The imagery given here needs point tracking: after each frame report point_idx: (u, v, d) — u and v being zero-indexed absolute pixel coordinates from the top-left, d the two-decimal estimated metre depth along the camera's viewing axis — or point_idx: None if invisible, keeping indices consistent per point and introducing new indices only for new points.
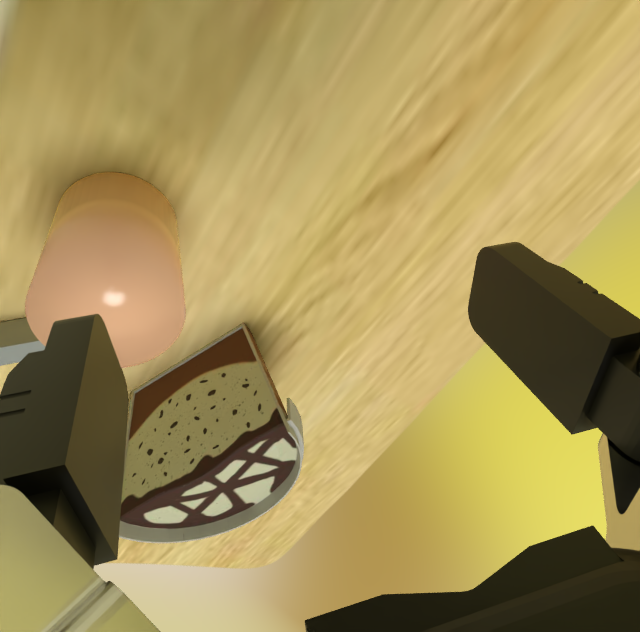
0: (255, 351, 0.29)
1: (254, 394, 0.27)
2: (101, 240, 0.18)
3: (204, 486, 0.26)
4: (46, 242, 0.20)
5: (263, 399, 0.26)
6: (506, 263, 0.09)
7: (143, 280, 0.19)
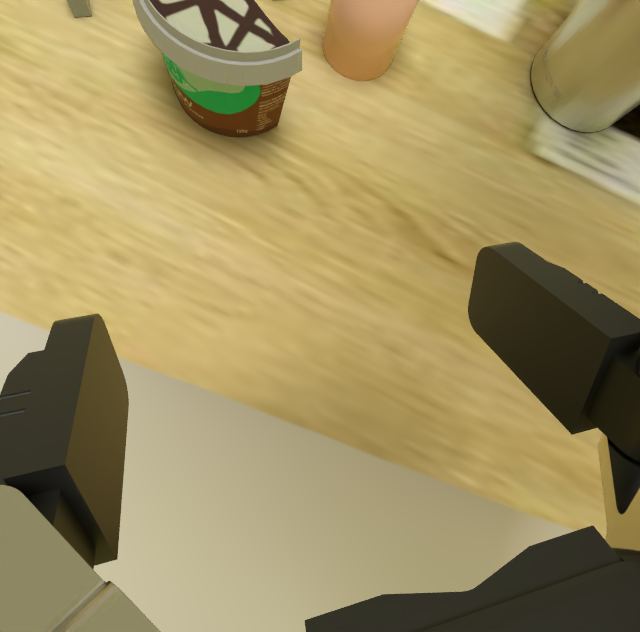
0: (282, 103, 0.33)
1: None
2: None
3: None
4: None
5: None
6: (506, 263, 0.09)
7: None
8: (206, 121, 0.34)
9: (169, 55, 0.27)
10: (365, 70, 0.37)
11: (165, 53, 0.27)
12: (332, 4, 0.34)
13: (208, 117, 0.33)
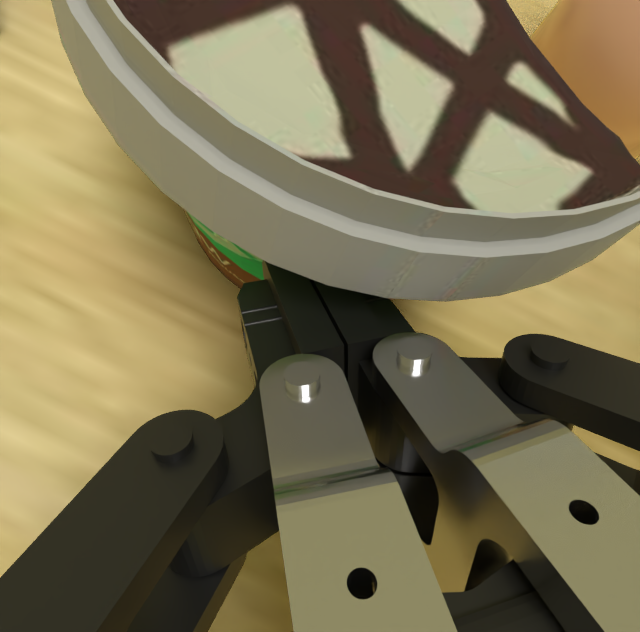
0: None
1: None
2: None
3: None
4: None
5: None
6: None
7: None
8: None
9: (176, 194, 0.07)
10: None
11: (161, 185, 0.07)
12: (576, 25, 0.14)
13: None
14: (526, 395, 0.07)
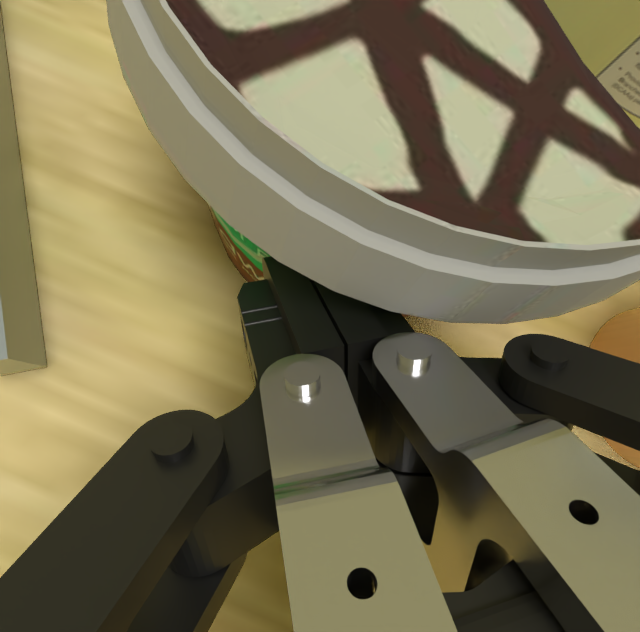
0: None
1: None
2: None
3: None
4: None
5: None
6: None
7: None
8: None
9: (244, 226, 0.07)
10: None
11: (228, 217, 0.07)
12: None
13: None
14: (526, 395, 0.07)
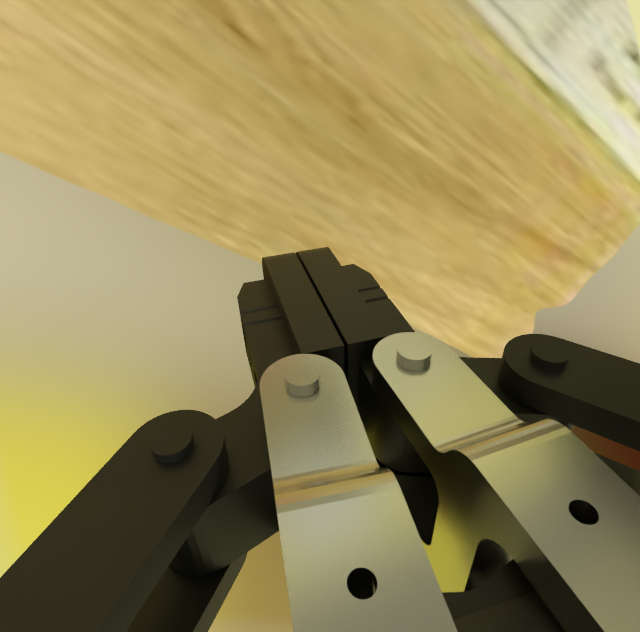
0: None
1: None
2: None
3: None
4: None
5: None
6: (305, 268, 0.09)
7: None
8: None
9: None
10: None
11: None
12: None
13: None
14: (526, 395, 0.07)
